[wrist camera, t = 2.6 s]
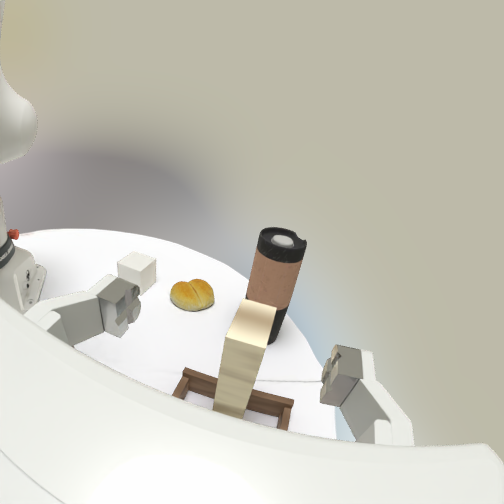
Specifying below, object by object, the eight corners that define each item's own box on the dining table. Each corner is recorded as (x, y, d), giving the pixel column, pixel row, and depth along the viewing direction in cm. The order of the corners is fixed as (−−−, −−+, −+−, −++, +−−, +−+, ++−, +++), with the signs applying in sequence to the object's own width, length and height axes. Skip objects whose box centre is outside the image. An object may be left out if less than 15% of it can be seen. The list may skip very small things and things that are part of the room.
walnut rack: (256, 540, 20) (263, 538, 18) (124, 496, 21) (117, 489, 20) (286, 413, 38) (294, 399, 36) (184, 382, 40) (185, 367, 38)
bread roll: (165, 291, 59) (165, 276, 58) (203, 285, 64) (205, 270, 62) (178, 316, 53) (178, 300, 52) (219, 308, 58) (222, 292, 56)
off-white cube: (118, 286, 57) (117, 262, 54) (134, 274, 62) (133, 250, 60) (141, 296, 56) (140, 271, 53) (156, 282, 61) (156, 258, 59)
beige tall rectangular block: (233, 443, 32) (265, 348, 23) (208, 436, 33) (225, 336, 24) (243, 410, 38) (276, 307, 29) (220, 403, 38) (243, 298, 29)
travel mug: (233, 339, 51) (254, 240, 42) (243, 315, 57) (264, 222, 48) (274, 351, 50) (306, 253, 41) (280, 325, 57) (308, 234, 48)
